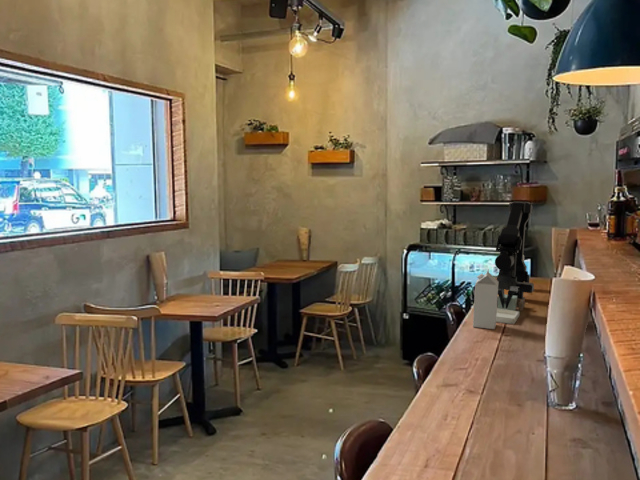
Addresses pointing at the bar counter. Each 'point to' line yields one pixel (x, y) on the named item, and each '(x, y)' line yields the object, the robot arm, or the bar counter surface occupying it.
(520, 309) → the dock
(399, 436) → the bar counter surface
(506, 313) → the tray
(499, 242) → the robot arm
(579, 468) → the bar counter surface
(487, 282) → the milk carton
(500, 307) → the block with peg handle
